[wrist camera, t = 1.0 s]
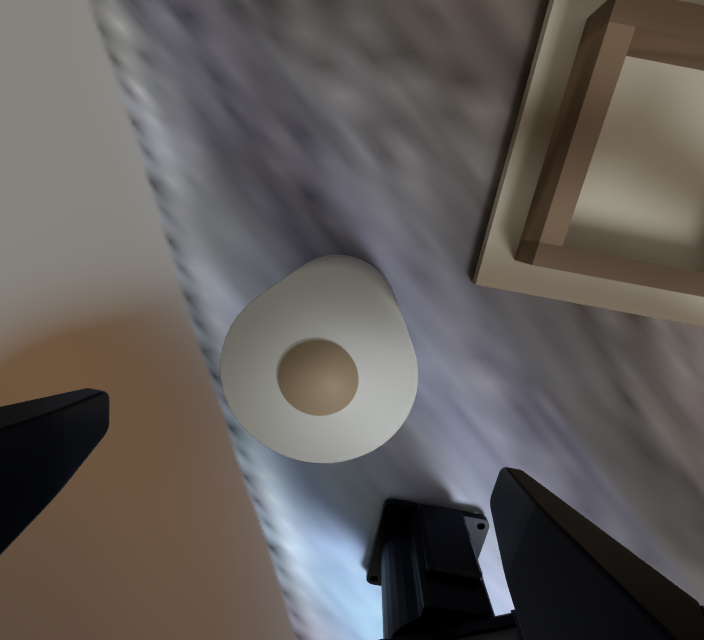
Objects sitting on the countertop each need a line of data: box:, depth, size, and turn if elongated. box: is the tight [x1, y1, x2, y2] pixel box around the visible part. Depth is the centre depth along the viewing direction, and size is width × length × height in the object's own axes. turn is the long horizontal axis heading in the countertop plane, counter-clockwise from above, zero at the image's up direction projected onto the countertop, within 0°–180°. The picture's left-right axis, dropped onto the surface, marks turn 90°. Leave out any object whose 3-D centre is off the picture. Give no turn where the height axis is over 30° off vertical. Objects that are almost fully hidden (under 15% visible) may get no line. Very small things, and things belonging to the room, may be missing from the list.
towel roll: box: [220, 255, 418, 463], centre depth 15 cm, size 6×6×8 cm
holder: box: [472, 0, 704, 327], centre depth 16 cm, size 13×13×3 cm
